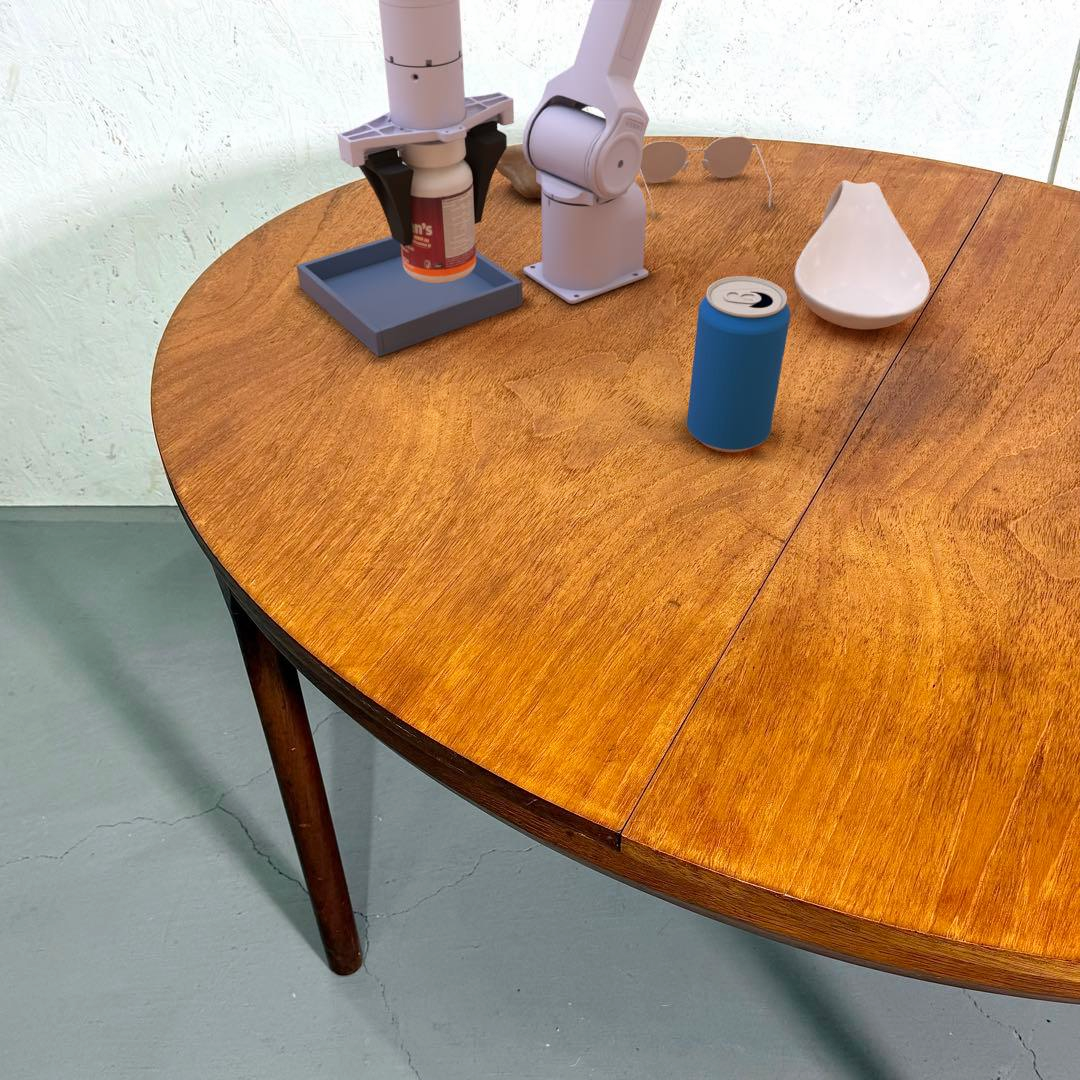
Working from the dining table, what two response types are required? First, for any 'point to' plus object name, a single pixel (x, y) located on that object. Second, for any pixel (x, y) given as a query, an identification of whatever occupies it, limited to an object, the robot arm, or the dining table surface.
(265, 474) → the dining table surface
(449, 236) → the pill bottle
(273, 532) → the dining table surface
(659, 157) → the sunglasses
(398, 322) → the slate tray
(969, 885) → the dining table surface
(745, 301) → the beverage can
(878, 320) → the spoon rest
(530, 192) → the fossil
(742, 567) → the dining table surface
